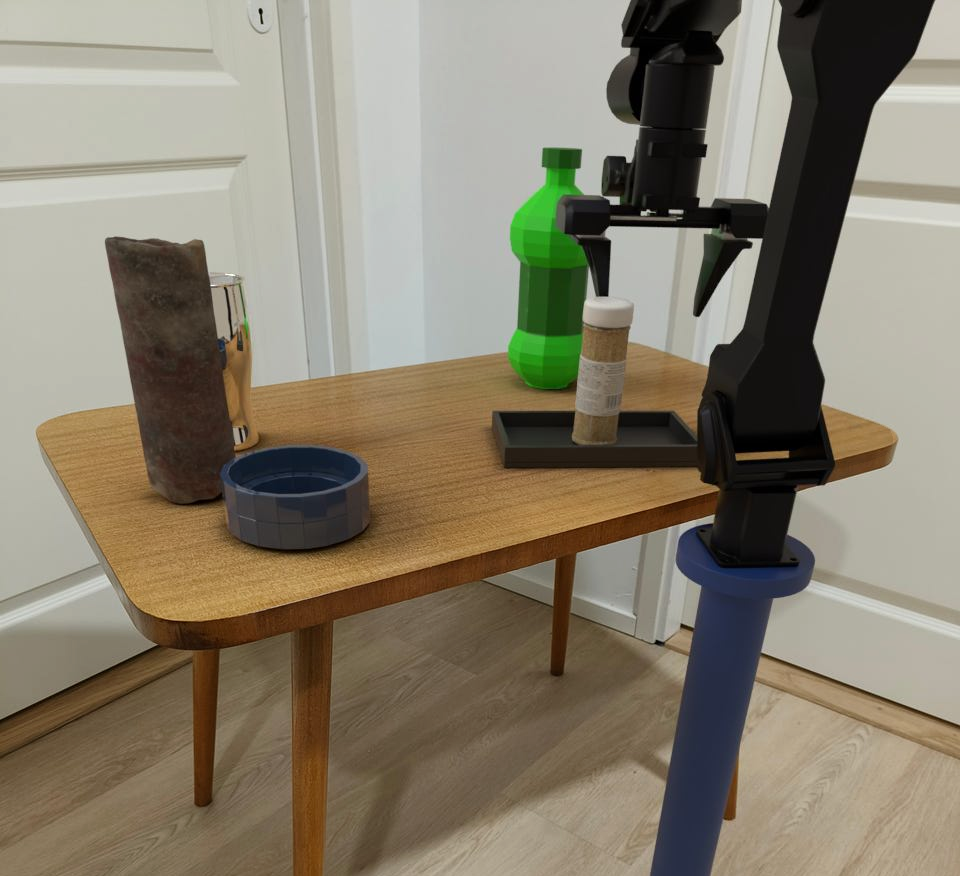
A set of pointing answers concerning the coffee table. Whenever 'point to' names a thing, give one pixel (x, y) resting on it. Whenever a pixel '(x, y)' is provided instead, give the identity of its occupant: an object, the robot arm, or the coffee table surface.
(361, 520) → the bowl
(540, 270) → the plastic bottle
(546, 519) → the coffee table surface
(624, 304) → the sprinkles bottle
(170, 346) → the brown stone pillar
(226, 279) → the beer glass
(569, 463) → the tray
